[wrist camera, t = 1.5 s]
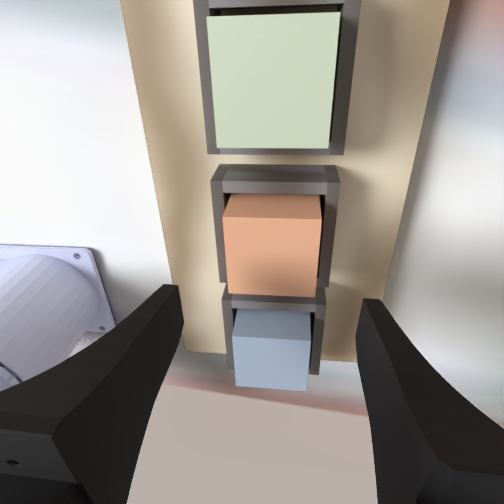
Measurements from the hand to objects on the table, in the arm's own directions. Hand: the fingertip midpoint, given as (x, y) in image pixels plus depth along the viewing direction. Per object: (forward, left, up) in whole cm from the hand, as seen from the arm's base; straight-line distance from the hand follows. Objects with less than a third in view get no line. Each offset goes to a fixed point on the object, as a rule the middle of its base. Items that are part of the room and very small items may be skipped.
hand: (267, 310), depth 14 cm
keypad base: (0, 0, -10) cm, 10 cm away
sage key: (0, +8, -7) cm, 10 cm away
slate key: (0, -7, -7) cm, 10 cm away
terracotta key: (0, 0, -7) cm, 7 cm away
